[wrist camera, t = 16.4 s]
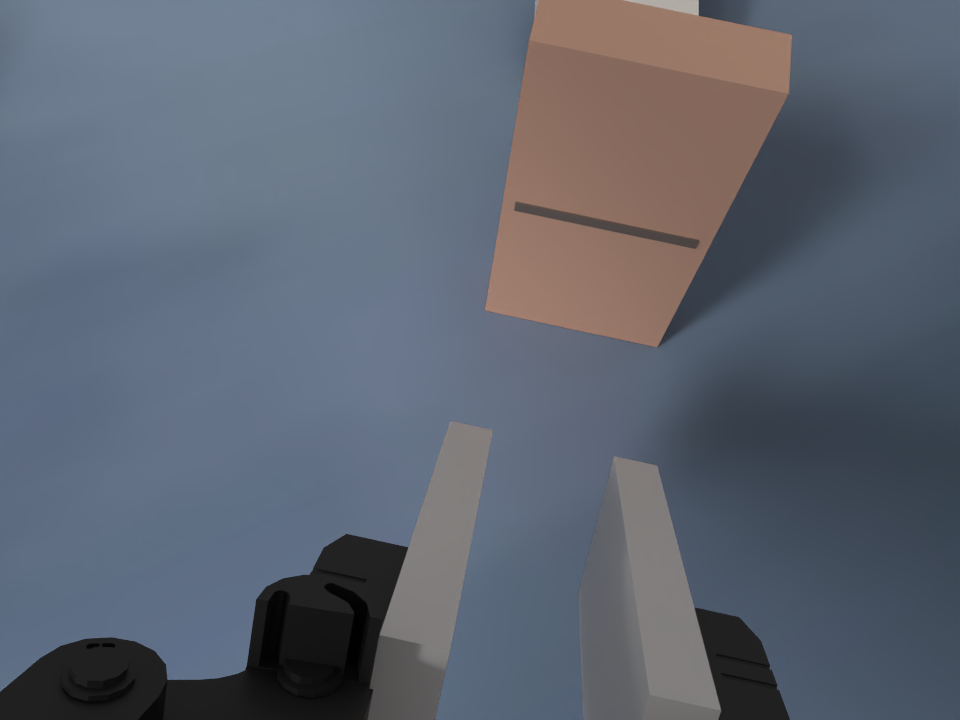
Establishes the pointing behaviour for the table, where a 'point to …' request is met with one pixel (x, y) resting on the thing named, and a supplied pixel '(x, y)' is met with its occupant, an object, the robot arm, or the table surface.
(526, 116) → the domino
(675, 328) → the table surface
